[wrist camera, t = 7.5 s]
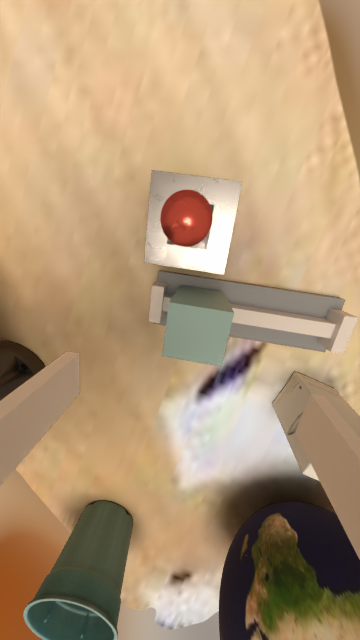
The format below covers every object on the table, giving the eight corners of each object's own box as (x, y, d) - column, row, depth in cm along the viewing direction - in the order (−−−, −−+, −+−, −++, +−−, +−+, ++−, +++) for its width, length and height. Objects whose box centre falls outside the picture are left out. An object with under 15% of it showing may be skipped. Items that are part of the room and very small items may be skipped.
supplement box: (294, 369, 35) (340, 431, 23) (334, 387, 35) (401, 458, 23) (269, 403, 38) (300, 474, 26) (308, 420, 38) (356, 498, 26)
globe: (185, 504, 48) (159, 883, 19) (303, 436, 39) (572, 941, 10) (274, 575, 52) (359, 970, 23) (398, 528, 43) (770, 1062, 15)
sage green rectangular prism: (176, 320, 33) (162, 356, 22) (181, 283, 31) (168, 302, 20) (215, 327, 32) (221, 366, 21) (223, 290, 31) (234, 312, 20)
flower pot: (103, 482, 48) (57, 590, 33) (157, 523, 50) (136, 641, 35) (63, 511, 53) (6, 617, 38) (113, 547, 55) (79, 661, 40)
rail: (155, 320, 35) (147, 331, 30) (160, 270, 32) (153, 273, 28) (319, 347, 34) (338, 363, 29) (339, 297, 31) (363, 306, 26)
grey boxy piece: (158, 259, 32) (144, 262, 24) (165, 190, 29) (151, 170, 22) (218, 268, 32) (223, 274, 24) (232, 199, 29) (242, 181, 21)
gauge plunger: (169, 244, 26) (157, 242, 19) (174, 203, 25) (163, 186, 18) (206, 249, 26) (207, 249, 19) (213, 208, 24) (216, 193, 17)
